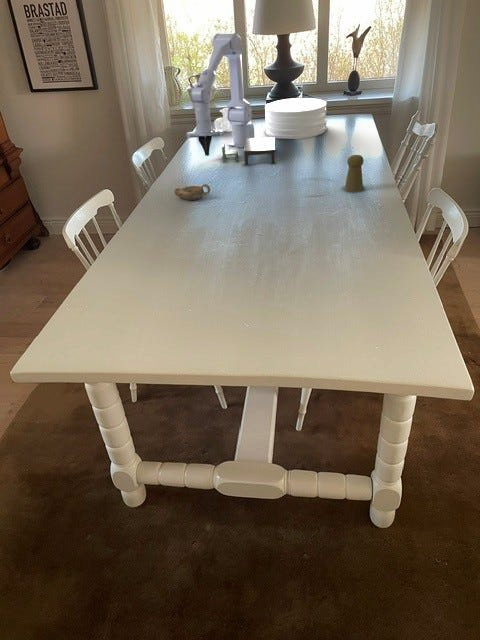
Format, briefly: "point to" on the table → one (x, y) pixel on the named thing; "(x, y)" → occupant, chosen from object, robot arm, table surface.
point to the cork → (354, 174)
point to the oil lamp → (191, 192)
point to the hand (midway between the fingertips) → (207, 155)
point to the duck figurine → (223, 122)
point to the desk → (259, 148)
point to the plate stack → (296, 118)
